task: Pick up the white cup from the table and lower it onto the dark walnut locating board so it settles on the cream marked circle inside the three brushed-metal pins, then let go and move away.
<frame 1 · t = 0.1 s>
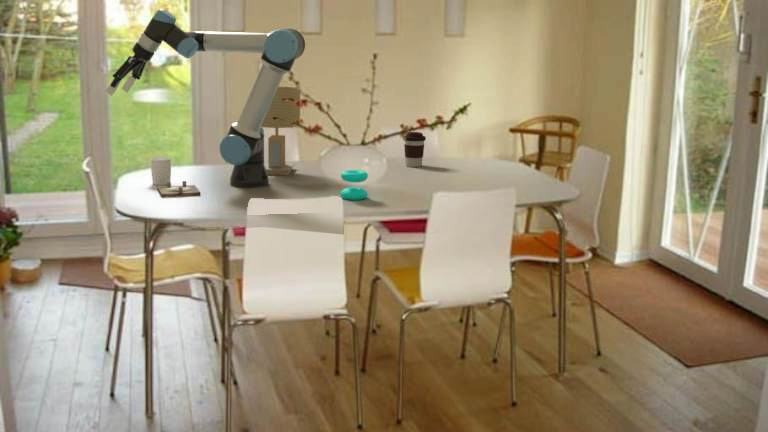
hand: (116, 92, 343), 36 cm above the table, tool tilted 35°, fingers open, 13 cm apart
coffee cup: (413, 166, 407), on the table
white cup: (161, 184, 355), on the table
pin board: (178, 192, 339), on the table
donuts: (354, 198, 337), on the table
desk lamp: (277, 172, 385), on the table
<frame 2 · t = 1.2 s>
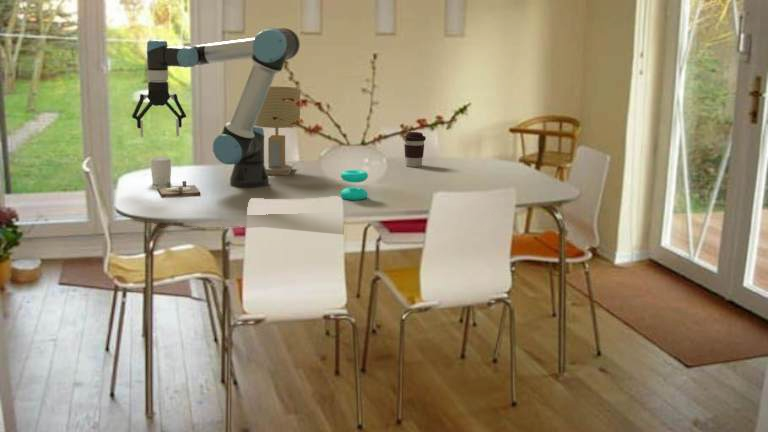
hand: (159, 136, 350), 19 cm above the table, tool pointing down, fingers open, 13 cm apart
nothing on the table moved.
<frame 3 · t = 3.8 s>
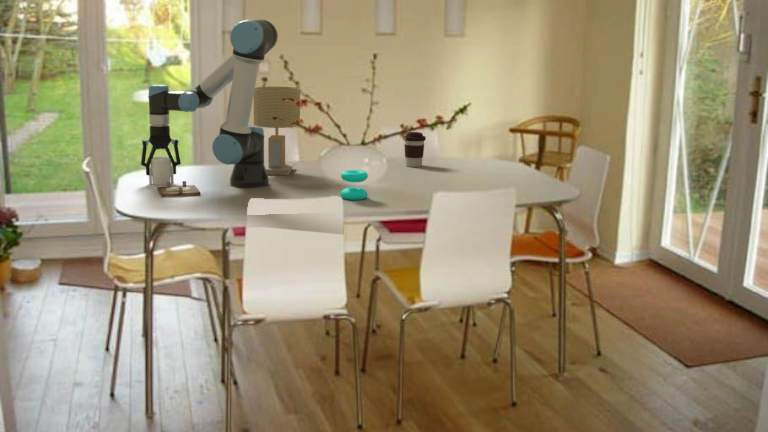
hand: (161, 182, 354), 0 cm above the table, tool pointing down, fingers closed on white cup, 8 cm apart
white cup: (161, 184, 355), on the table, touching gripper
everything else where it was.
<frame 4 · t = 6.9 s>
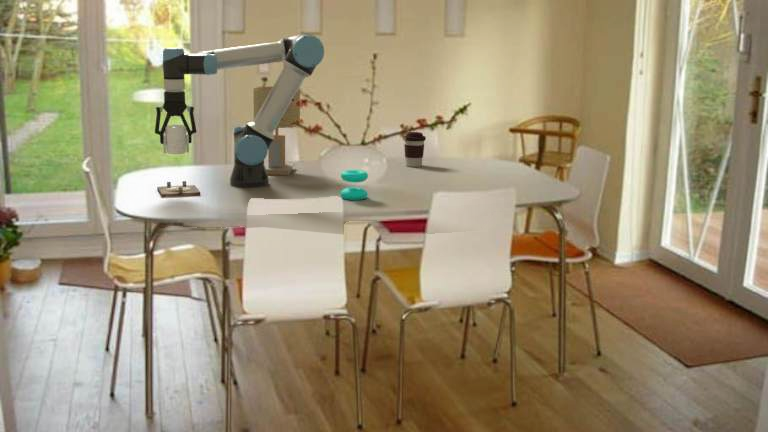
hand: (176, 152, 336), 15 cm above the table, tool pointing down, fingers closed on white cup, 8 cm apart
white cup: (176, 153, 336), point 15 cm above the table, touching gripper
everything else where it was.
when the fingers open (3 cm above the table, at t = 9.8 s): white cup drops 1 cm, resting on pin board.
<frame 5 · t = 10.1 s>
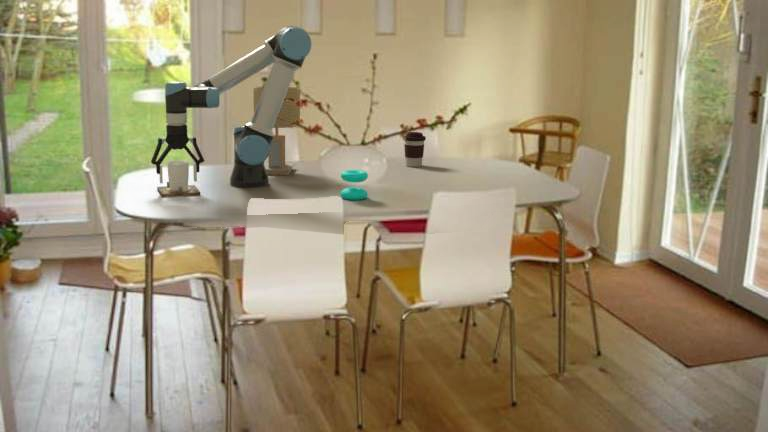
hand: (178, 181, 338), 4 cm above the table, tool pointing down, fingers open, 12 cm apart
white cup: (178, 189, 338), point 1 cm above the table, touching pin board
everything else where it was.
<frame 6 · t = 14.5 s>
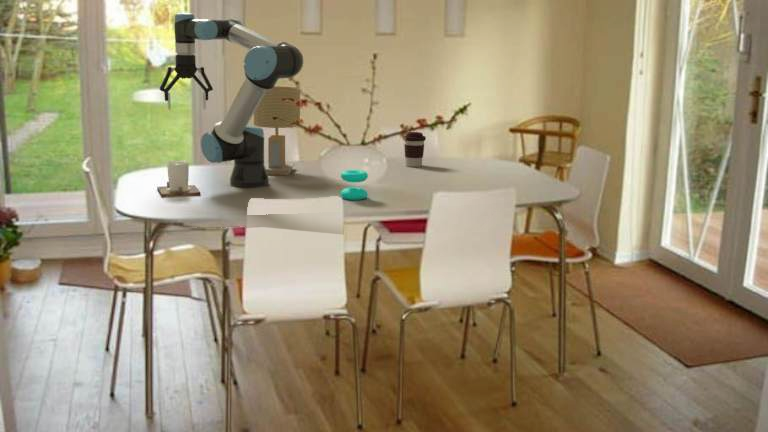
hand: (186, 109, 354), 29 cm above the table, tool pointing down, fingers open, 13 cm apart
nothing on the table moved.
at the end: white cup 0.1 cm off-centre on the pin board, point 1.2 cm above the pin board's base; white cup tilted 0°; the gripper is holding nothing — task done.
